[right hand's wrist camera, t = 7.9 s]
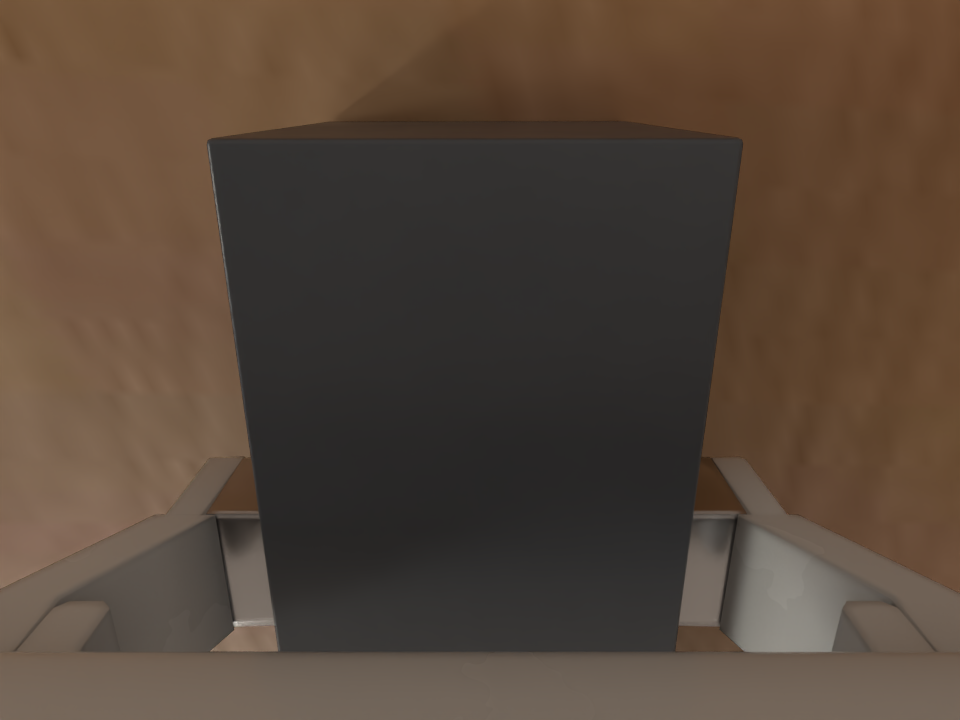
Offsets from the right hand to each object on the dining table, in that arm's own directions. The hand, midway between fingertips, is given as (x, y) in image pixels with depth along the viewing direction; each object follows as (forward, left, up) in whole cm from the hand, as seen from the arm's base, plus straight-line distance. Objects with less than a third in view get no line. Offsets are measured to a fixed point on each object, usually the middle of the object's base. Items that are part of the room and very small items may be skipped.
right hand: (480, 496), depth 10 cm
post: (+19, -9, -3) cm, 21 cm away
